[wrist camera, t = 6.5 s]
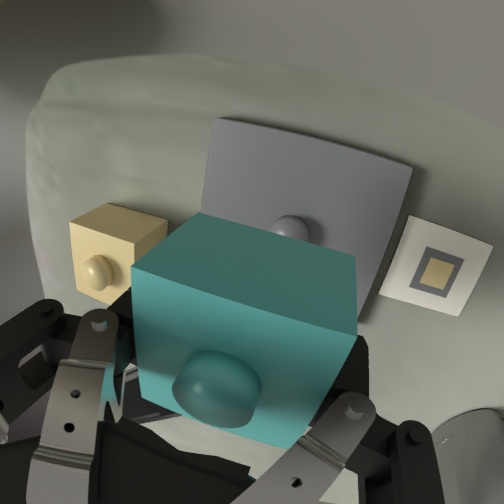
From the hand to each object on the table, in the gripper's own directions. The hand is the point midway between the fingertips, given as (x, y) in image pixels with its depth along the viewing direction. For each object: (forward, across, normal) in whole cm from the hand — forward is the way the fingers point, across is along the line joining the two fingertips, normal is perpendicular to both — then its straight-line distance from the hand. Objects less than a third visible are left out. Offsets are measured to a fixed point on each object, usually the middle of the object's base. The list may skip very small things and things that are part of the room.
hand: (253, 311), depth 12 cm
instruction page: (+10, -11, 0) cm, 14 cm away
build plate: (+10, 0, 0) cm, 10 cm away
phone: (+10, +13, +27) cm, 32 cm away
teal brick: (+1, 0, 0) cm, 1 cm away
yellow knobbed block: (+10, +12, +5) cm, 16 cm away
